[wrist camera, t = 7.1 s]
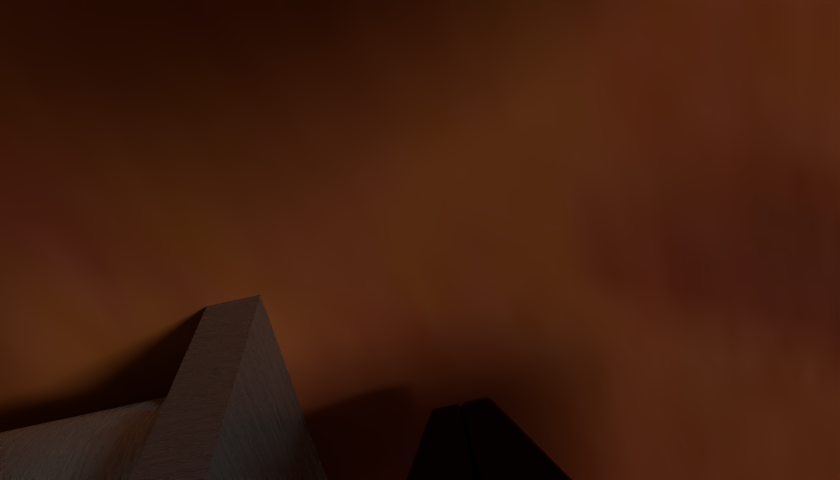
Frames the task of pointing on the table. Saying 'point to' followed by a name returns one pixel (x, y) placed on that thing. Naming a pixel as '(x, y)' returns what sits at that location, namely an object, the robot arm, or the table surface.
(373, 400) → the table surface
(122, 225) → the table surface
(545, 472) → the robot arm
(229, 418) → the air tube
